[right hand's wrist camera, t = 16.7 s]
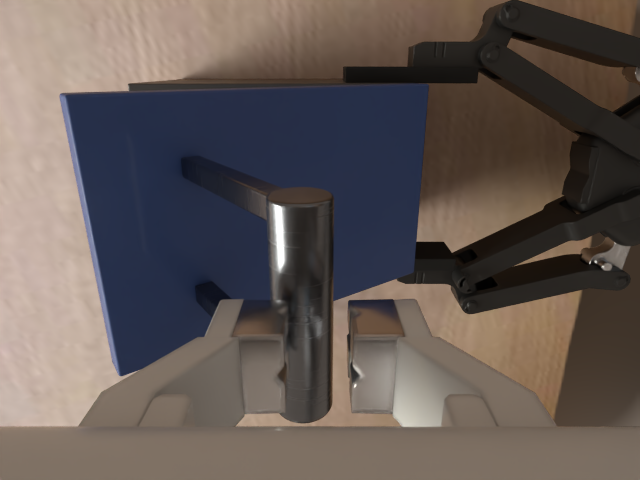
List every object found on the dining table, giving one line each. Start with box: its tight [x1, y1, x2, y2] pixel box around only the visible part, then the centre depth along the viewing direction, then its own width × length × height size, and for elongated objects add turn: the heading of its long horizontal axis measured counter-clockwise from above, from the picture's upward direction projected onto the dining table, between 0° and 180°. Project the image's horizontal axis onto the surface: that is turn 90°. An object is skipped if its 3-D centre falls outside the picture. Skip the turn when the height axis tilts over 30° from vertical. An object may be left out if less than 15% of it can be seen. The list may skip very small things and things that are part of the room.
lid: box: [60, 83, 429, 423], centre depth 16 cm, size 15×10×8 cm
